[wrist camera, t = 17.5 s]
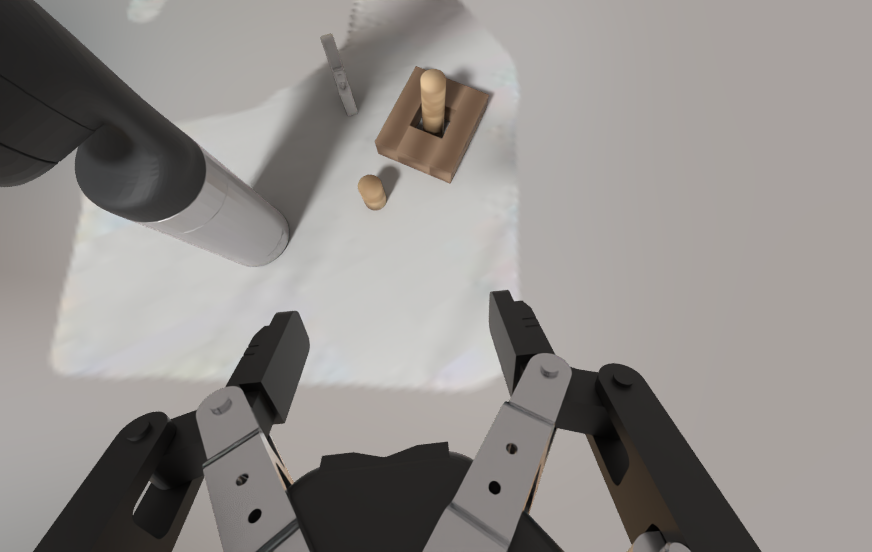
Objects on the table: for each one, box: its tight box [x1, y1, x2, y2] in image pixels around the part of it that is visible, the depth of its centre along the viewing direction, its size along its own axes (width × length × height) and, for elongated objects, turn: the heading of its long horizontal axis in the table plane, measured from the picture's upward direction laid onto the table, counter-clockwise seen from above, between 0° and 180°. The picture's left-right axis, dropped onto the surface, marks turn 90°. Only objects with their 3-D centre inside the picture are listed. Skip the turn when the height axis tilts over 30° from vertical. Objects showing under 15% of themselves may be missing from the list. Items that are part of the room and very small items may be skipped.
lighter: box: [321, 34, 358, 116], centre depth 47 cm, size 7×2×8 cm, turn 19°
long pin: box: [420, 69, 446, 138], centre depth 45 cm, size 3×3×10 cm
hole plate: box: [375, 66, 489, 183], centre depth 48 cm, size 12×14×3 cm
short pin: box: [358, 175, 387, 210], centre depth 45 cm, size 3×3×4 cm
